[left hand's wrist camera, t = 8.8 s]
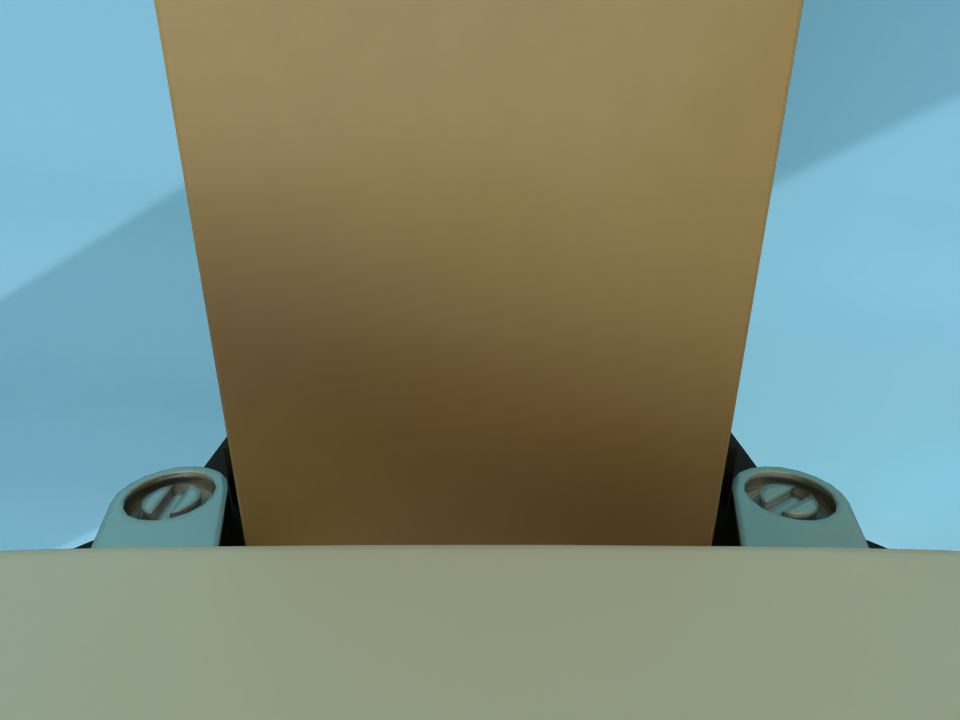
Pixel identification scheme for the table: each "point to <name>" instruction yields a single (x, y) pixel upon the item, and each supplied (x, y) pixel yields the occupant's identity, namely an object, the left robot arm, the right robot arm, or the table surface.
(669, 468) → the bar
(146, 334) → the table surface
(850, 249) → the table surface
